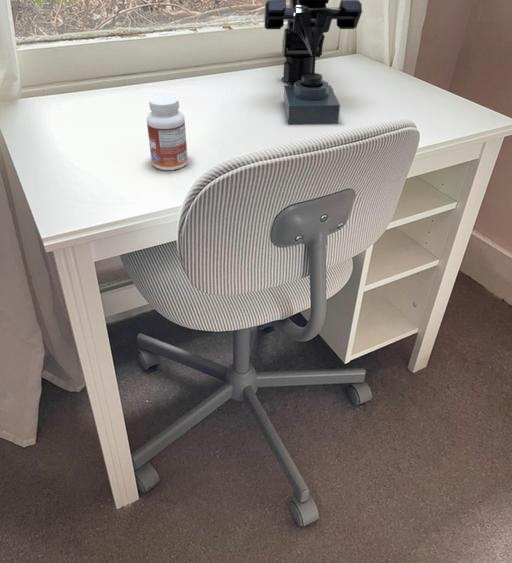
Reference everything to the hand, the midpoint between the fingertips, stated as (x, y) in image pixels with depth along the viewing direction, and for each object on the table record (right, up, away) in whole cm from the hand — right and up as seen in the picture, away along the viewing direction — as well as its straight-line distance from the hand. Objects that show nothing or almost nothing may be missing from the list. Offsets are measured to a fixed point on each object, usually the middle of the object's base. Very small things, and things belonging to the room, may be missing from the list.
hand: (313, 54), depth 105 cm
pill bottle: (-26, -24, -12) cm, 38 cm away
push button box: (0, -9, +7) cm, 12 cm away
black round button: (0, -5, +4) cm, 6 cm away
